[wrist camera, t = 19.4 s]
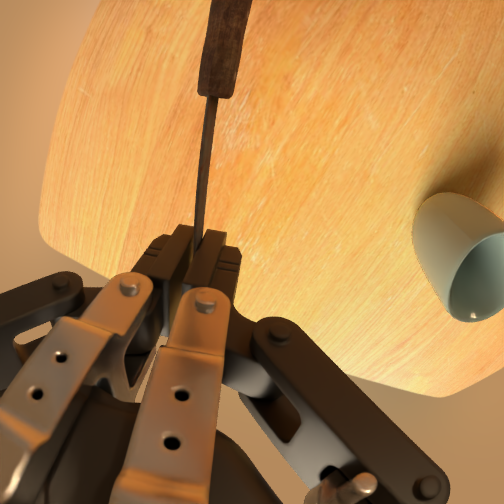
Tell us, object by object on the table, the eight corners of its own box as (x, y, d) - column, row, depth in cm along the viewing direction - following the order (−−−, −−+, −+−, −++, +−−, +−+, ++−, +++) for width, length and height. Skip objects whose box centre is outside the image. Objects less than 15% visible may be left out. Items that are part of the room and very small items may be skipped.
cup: (393, 256, 27) (431, 327, 18) (408, 176, 23) (466, 225, 14) (458, 257, 26) (504, 320, 18) (476, 186, 22) (540, 233, 14)
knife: (211, 296, 13) (202, 328, 11) (186, 291, 13) (173, 322, 11) (277, -98, 5) (275, -126, 3) (246, -100, 5) (239, -127, 3)
